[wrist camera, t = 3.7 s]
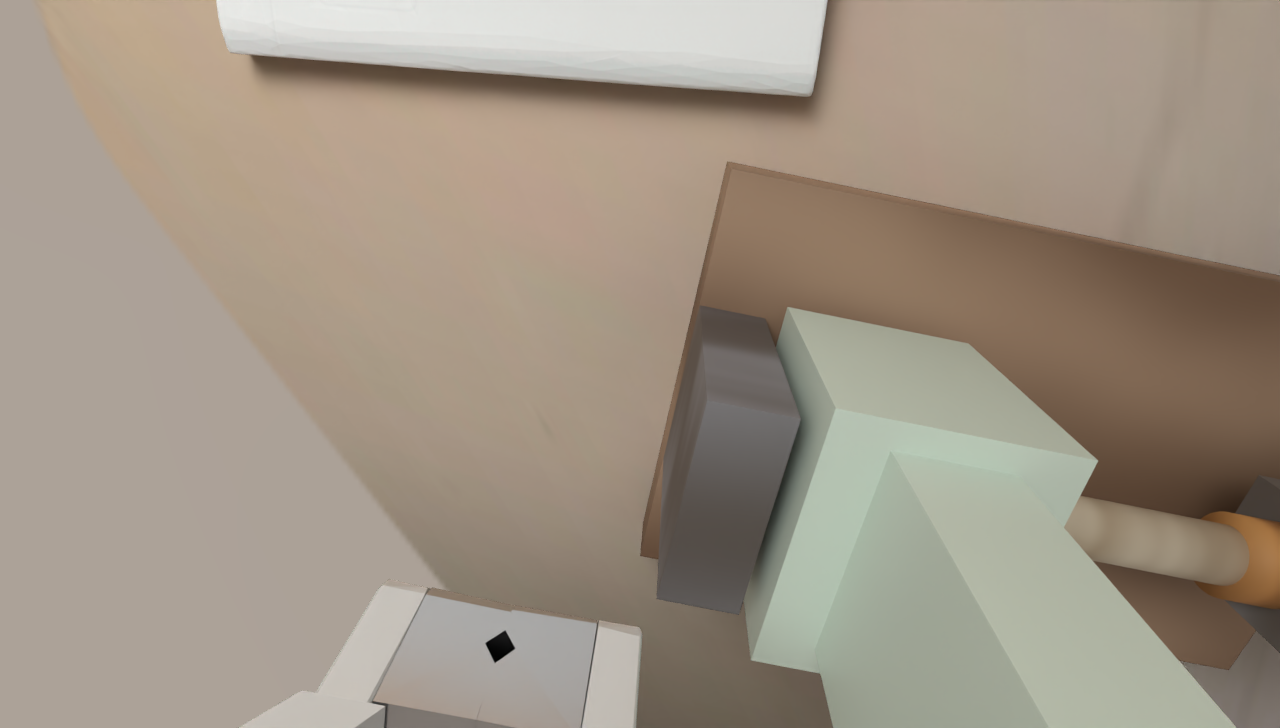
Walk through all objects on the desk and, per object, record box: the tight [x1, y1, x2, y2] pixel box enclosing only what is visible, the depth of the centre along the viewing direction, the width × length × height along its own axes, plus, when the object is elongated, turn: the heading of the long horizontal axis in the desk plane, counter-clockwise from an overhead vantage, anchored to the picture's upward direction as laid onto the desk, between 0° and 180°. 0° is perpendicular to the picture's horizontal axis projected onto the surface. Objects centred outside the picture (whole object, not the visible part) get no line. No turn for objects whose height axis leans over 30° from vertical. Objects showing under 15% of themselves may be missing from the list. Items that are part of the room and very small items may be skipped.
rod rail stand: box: [640, 162, 1280, 670], centre depth 15 cm, size 10×16×6 cm, turn 79°
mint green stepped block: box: [744, 307, 1236, 728], centre depth 11 cm, size 5×4×11 cm
